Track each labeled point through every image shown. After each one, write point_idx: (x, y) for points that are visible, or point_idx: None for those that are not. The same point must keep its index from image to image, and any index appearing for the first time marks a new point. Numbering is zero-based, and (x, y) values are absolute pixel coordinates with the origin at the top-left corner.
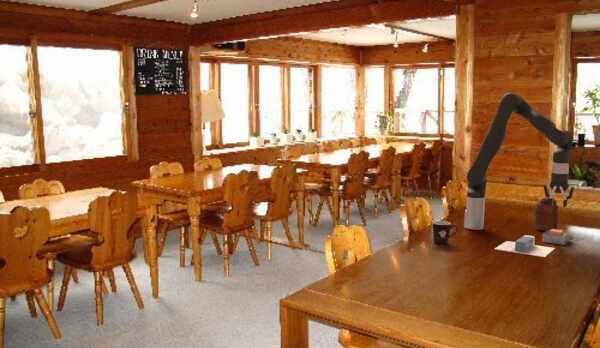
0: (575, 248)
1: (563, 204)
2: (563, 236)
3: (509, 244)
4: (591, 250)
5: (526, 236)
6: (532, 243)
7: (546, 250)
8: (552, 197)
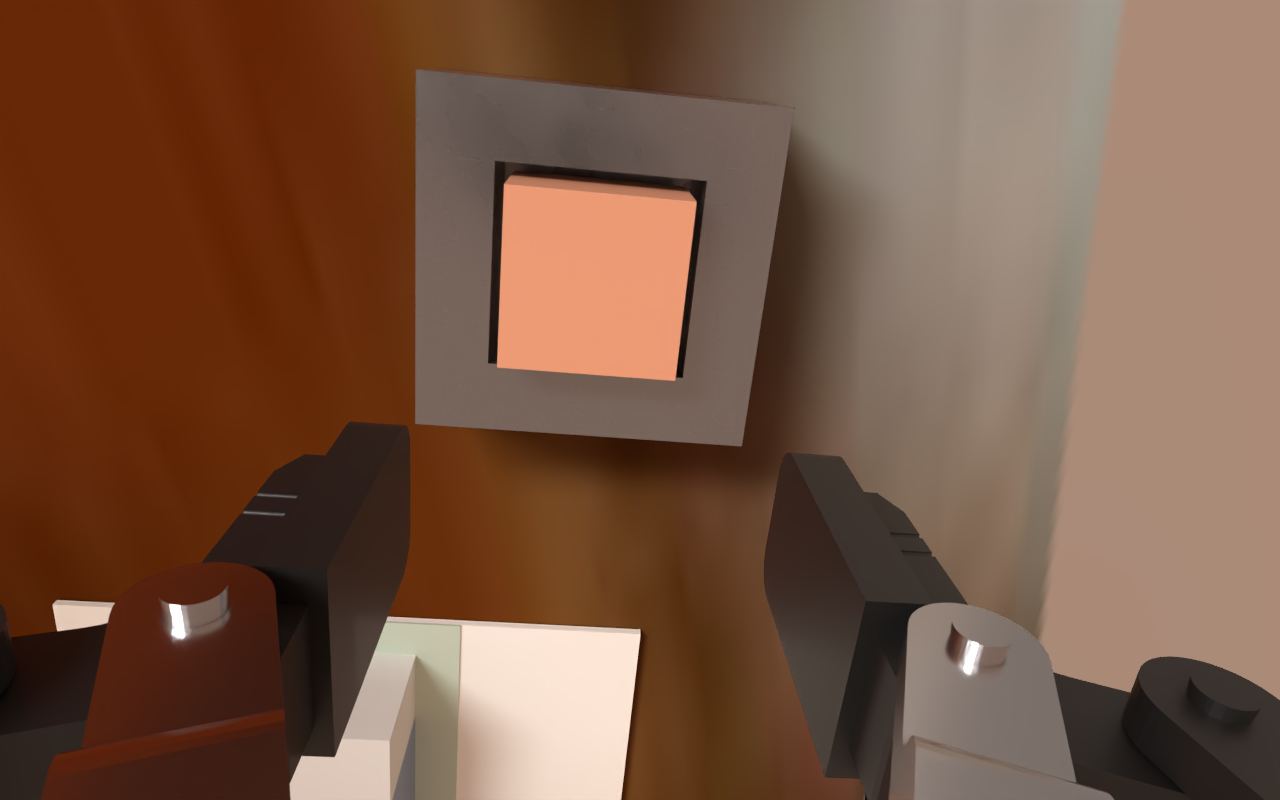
0: None
1: (793, 645)
2: (720, 434)
3: None
4: (1027, 490)
5: (299, 796)
6: (406, 761)
7: (576, 763)
8: (291, 704)
